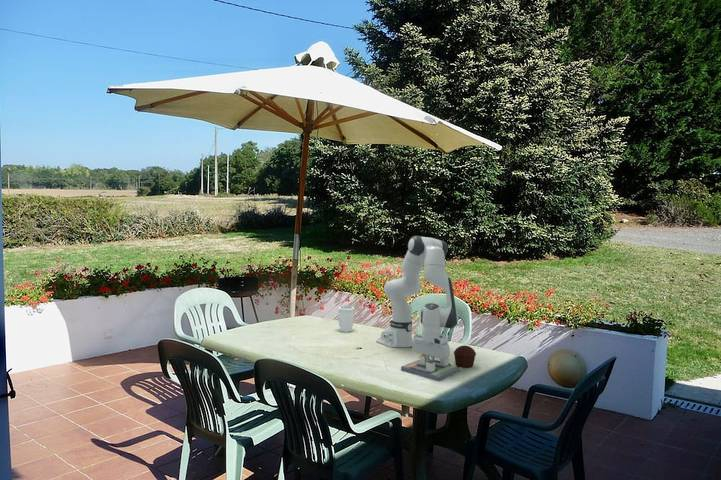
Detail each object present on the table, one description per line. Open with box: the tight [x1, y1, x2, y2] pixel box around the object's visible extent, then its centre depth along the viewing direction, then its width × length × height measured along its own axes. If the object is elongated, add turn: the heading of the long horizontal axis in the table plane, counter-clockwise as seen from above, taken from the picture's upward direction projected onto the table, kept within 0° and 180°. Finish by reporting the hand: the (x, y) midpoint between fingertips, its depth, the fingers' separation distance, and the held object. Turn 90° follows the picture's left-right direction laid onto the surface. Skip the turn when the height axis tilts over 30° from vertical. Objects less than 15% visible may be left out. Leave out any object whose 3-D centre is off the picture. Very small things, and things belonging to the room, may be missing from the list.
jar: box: [337, 305, 355, 333], centre depth 336 cm, size 11×10×15 cm
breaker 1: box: [426, 359, 435, 372], centre depth 253 cm, size 3×3×5 cm
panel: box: [400, 359, 461, 382], centre depth 260 cm, size 22×19×3 cm
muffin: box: [453, 345, 477, 369], centre depth 269 cm, size 12×11×10 cm
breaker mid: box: [419, 354, 427, 365], centre depth 262 cm, size 3×3×5 cm
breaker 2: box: [439, 357, 450, 366], centre depth 261 cm, size 3×3×5 cm
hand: (430, 364), depth 260 cm, fingers closed
